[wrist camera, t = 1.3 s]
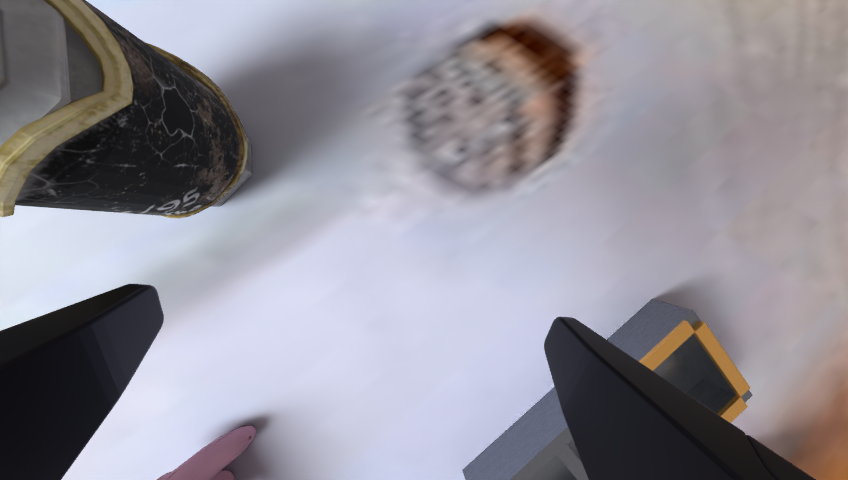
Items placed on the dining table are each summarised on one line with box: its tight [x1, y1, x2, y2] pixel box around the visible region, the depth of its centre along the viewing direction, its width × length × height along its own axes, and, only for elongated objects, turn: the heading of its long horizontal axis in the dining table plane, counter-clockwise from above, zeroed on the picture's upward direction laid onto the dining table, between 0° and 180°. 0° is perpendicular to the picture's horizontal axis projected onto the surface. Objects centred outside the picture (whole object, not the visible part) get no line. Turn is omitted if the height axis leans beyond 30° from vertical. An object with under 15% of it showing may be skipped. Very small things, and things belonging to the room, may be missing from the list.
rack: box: [463, 299, 752, 480], centre depth 24 cm, size 20×8×4 cm, turn 129°
